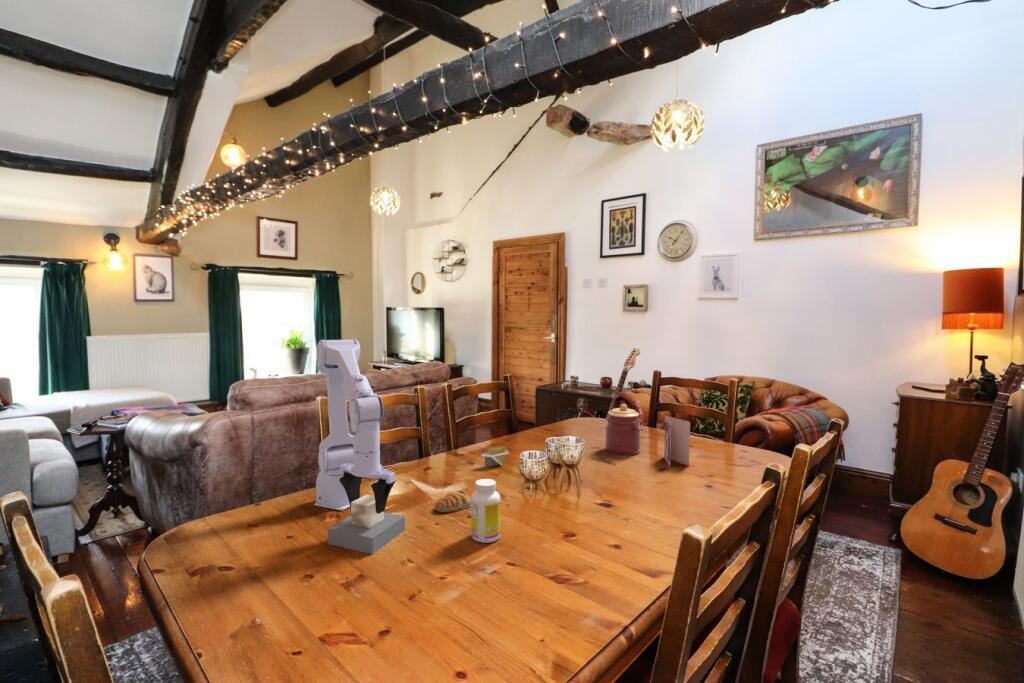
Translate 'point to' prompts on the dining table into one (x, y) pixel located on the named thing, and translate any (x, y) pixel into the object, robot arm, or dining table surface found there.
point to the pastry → (453, 502)
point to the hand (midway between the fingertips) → (367, 508)
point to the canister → (623, 431)
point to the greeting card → (676, 440)
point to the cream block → (365, 512)
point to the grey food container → (495, 456)
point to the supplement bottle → (485, 512)
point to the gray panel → (366, 533)
